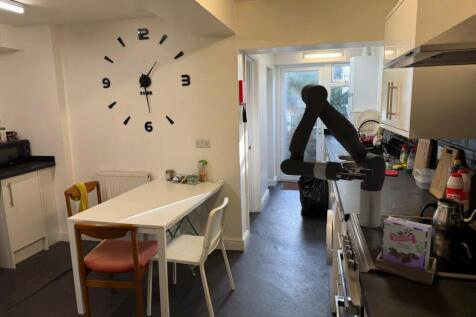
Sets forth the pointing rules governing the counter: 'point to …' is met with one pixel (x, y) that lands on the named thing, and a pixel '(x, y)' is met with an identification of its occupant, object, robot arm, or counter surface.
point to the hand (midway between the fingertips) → (369, 175)
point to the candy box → (406, 243)
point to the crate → (408, 270)
